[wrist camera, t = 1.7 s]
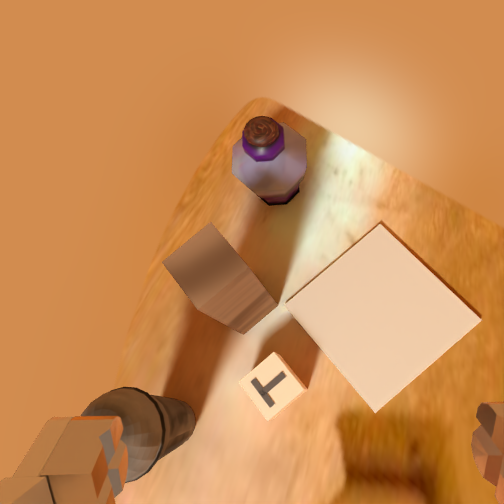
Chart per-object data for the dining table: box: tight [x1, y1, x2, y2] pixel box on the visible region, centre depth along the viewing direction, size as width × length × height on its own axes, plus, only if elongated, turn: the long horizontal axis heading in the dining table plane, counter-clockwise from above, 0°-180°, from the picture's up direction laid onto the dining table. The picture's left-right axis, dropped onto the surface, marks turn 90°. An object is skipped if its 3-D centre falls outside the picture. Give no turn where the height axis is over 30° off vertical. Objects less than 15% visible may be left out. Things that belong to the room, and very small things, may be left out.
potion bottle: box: [232, 116, 307, 205], centre depth 45 cm, size 9×9×12 cm
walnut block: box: [162, 222, 278, 335], centre depth 40 cm, size 5×5×16 cm
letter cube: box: [239, 352, 308, 421], centre depth 42 cm, size 4×4×5 cm
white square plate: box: [284, 224, 481, 413], centre depth 44 cm, size 14×14×1 cm
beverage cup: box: [81, 387, 195, 483], centre depth 35 cm, size 7×7×20 cm
